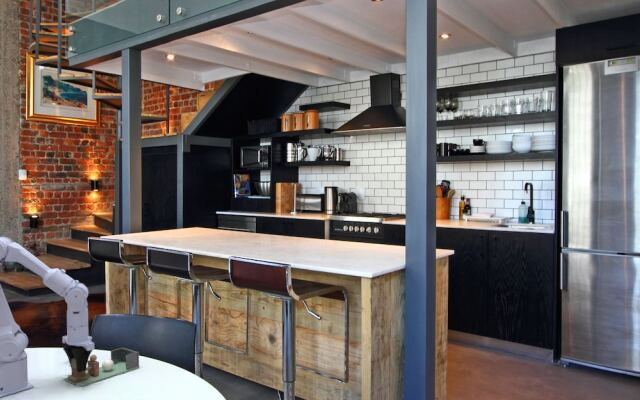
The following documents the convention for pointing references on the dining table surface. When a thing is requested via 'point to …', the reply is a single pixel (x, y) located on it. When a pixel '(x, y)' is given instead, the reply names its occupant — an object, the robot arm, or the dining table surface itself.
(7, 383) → the robot arm
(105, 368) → the ball
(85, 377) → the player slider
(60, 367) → the dining table surface
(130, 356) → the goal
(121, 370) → the pitch mat
